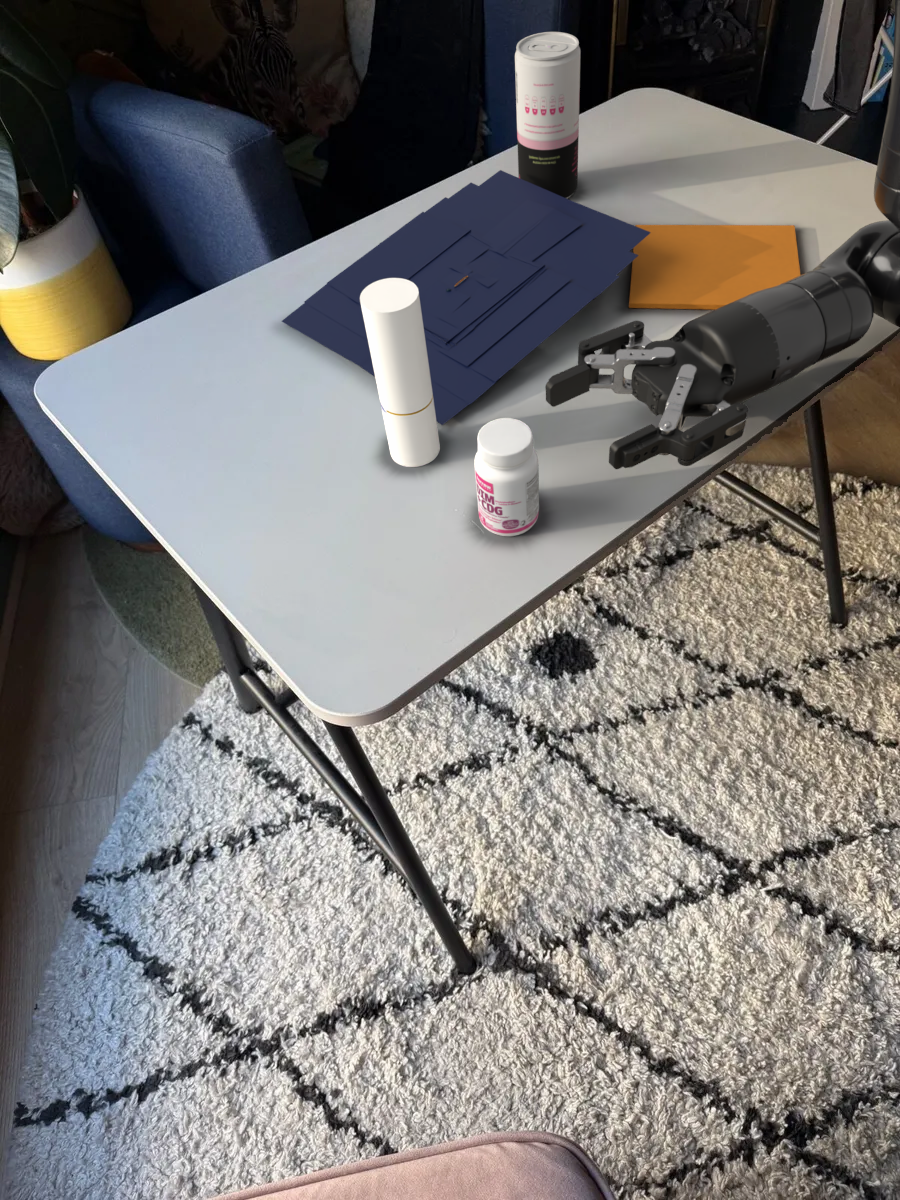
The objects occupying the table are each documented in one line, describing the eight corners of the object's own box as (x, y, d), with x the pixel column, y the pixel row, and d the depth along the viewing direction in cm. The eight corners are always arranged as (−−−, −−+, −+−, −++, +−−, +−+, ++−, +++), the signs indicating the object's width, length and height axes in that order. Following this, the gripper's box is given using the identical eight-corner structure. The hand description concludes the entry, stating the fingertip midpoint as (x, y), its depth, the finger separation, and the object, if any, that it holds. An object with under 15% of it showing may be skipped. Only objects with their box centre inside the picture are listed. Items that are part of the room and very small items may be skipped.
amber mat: (793, 230, 90) (794, 224, 89) (803, 311, 81) (804, 306, 81) (634, 229, 92) (635, 224, 92) (628, 308, 84) (629, 302, 84)
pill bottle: (470, 530, 69) (461, 450, 62) (491, 488, 71) (485, 408, 64) (527, 544, 67) (525, 464, 60) (547, 501, 70) (546, 420, 63)
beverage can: (528, 174, 102) (525, 29, 90) (583, 179, 100) (587, 32, 88) (511, 203, 98) (506, 56, 86) (568, 208, 96) (571, 59, 84)
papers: (666, 263, 86) (667, 230, 83) (450, 448, 78) (442, 419, 75) (491, 188, 98) (486, 156, 95) (288, 341, 90) (276, 312, 87)
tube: (450, 446, 75) (430, 290, 63) (415, 474, 73) (388, 319, 61) (415, 425, 77) (389, 271, 65) (380, 452, 75) (347, 298, 63)
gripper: (697, 264, 71) (527, 337, 67) (825, 352, 63) (640, 441, 59) (685, 342, 77) (529, 413, 73) (801, 432, 69) (631, 517, 65)
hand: (578, 425), depth 66 cm, fingers open, 8 cm apart
